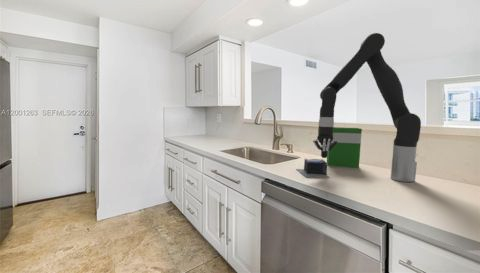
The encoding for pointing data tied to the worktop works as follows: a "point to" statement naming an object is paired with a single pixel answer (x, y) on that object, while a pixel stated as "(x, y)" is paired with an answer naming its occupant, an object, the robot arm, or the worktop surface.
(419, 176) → the worktop surface
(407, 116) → the robot arm
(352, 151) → the green cereal box
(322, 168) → the small box
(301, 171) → the mat
